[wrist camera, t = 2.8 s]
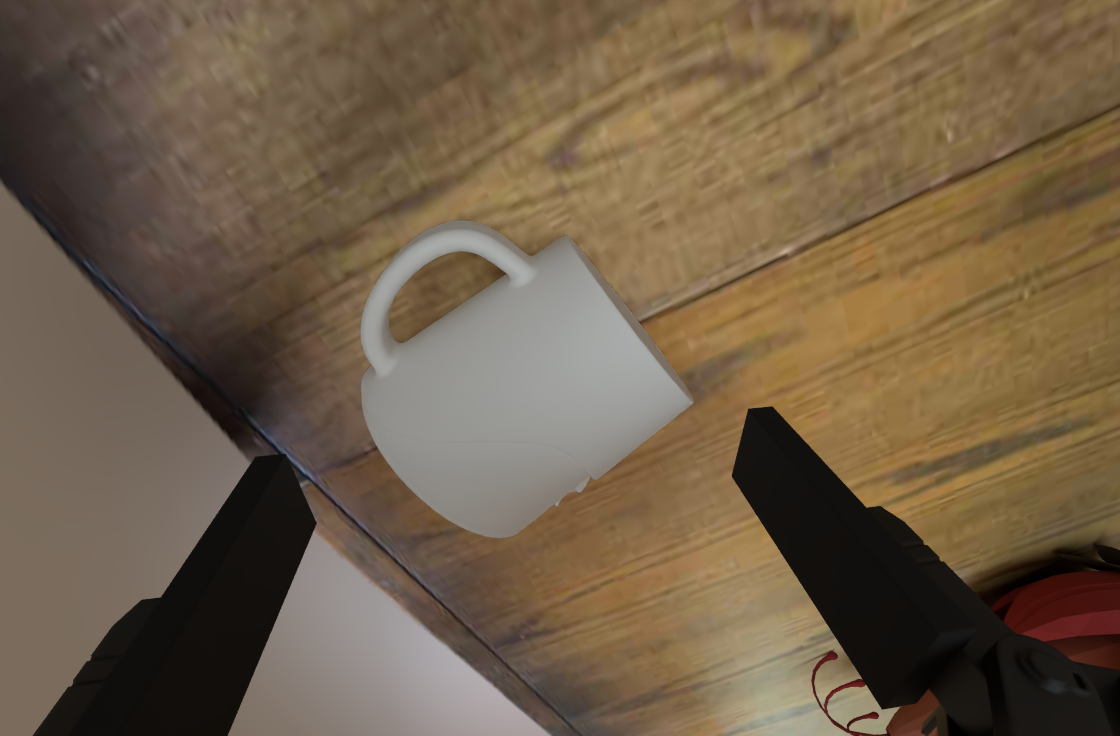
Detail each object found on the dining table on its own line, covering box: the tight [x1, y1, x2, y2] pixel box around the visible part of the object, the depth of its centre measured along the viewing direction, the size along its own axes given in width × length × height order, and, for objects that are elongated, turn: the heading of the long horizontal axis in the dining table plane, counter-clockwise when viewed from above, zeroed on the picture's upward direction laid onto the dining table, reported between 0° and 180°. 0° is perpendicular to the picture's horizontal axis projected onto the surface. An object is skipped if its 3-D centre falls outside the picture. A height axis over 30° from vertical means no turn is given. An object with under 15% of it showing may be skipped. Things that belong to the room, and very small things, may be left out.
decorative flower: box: [811, 544, 1120, 736], centre depth 35 cm, size 22×23×30 cm
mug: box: [360, 220, 694, 538], centre depth 17 cm, size 12×9×8 cm
